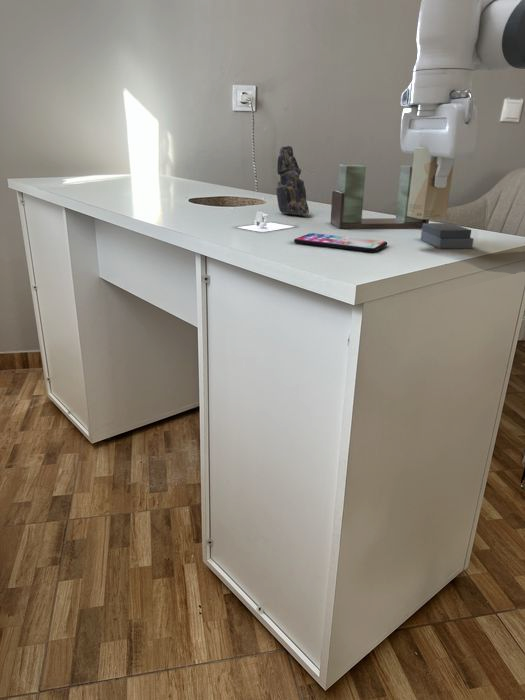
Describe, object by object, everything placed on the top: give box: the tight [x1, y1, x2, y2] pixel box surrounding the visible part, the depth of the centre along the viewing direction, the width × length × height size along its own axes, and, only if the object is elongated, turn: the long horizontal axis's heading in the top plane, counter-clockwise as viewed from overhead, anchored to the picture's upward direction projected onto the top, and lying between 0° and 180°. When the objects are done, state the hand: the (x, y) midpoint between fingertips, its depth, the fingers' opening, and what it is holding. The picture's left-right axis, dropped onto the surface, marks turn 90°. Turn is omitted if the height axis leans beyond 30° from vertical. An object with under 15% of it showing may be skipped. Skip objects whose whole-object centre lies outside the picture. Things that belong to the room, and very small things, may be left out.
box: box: [407, 147, 455, 220], centre depth 91 cm, size 5×4×11 cm
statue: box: [275, 145, 310, 216], centre depth 128 cm, size 6×12×15 cm, turn 28°
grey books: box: [420, 222, 474, 249], centre depth 99 cm, size 6×8×3 cm
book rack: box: [330, 164, 430, 230], centre depth 115 cm, size 19×7×12 cm, turn 98°
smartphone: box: [293, 232, 388, 253], centre depth 96 cm, size 8×1×15 cm
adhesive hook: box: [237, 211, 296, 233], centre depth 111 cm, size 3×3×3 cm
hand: (430, 185), depth 91 cm, fingers closed on box, 5 cm apart
